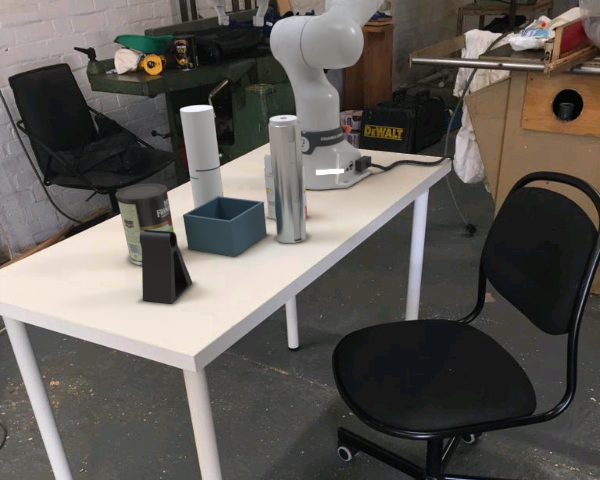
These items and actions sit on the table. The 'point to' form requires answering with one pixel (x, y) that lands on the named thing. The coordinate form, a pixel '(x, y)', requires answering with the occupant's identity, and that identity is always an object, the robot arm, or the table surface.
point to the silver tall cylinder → (287, 178)
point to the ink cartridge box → (270, 187)
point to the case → (225, 225)
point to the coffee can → (143, 214)
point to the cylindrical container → (202, 153)
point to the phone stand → (162, 267)
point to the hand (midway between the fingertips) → (240, 25)
